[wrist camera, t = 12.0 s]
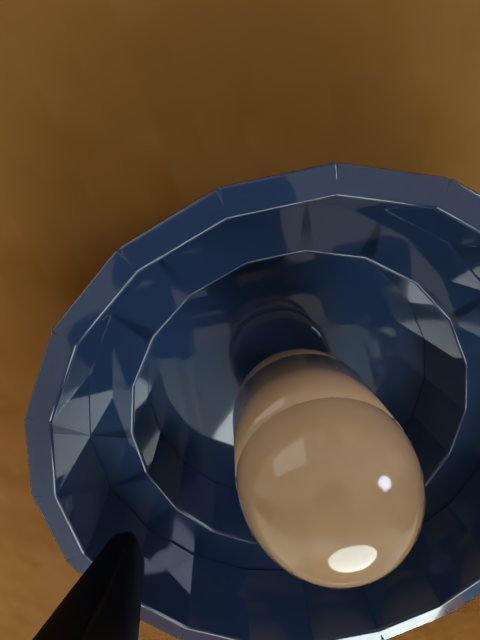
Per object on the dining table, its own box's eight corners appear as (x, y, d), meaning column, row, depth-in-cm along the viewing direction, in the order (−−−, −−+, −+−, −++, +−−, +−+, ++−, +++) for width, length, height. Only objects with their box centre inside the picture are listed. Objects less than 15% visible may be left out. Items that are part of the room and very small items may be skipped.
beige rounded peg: (351, 419, 13) (473, 618, 7) (243, 442, 13) (263, 659, 7) (340, 317, 12) (480, 445, 5) (219, 342, 12) (216, 498, 6)
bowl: (461, 483, 15) (569, 606, 11) (159, 543, 16) (132, 690, 11) (468, 143, 11) (662, 92, 6) (41, 234, 11) (-97, 254, 6)
